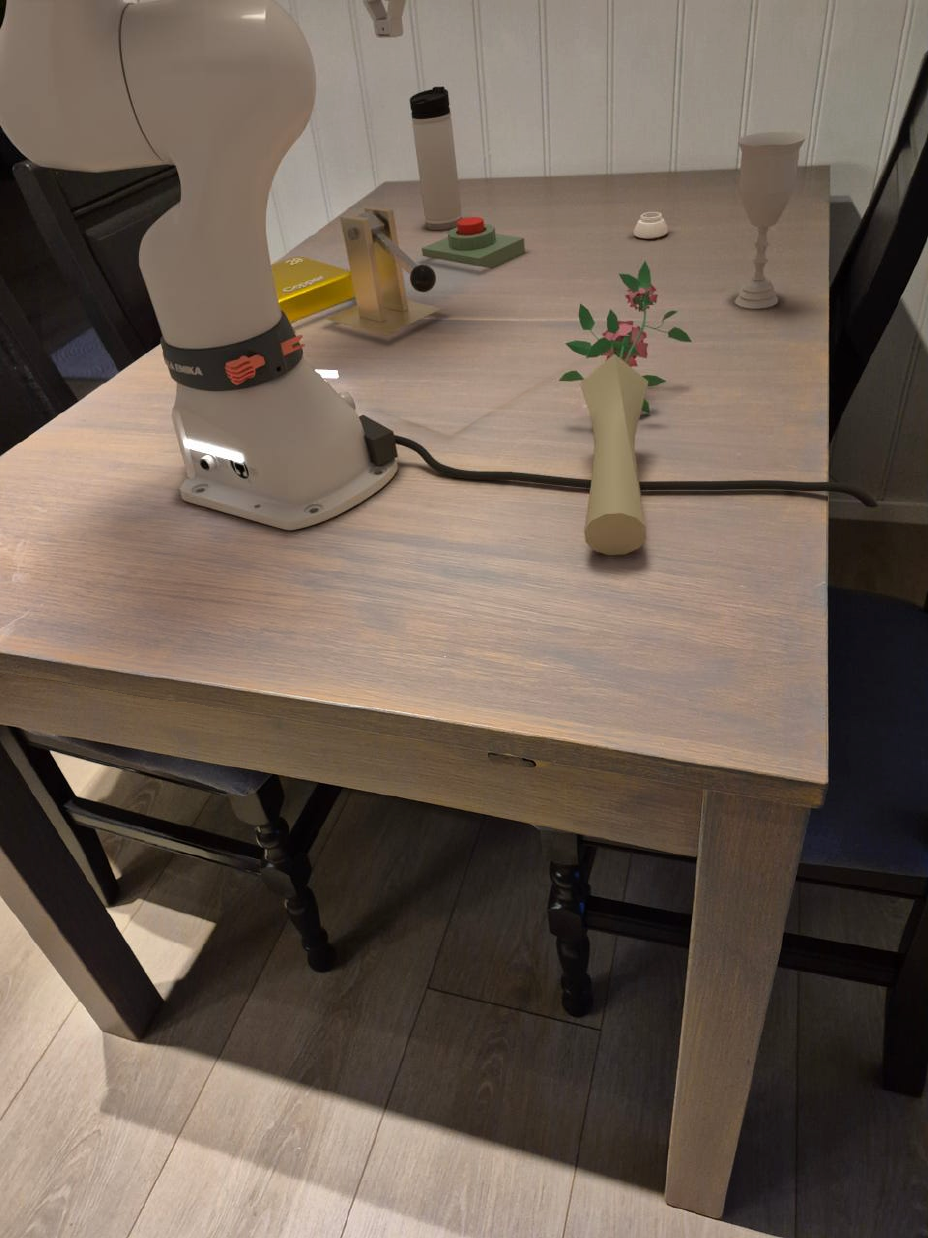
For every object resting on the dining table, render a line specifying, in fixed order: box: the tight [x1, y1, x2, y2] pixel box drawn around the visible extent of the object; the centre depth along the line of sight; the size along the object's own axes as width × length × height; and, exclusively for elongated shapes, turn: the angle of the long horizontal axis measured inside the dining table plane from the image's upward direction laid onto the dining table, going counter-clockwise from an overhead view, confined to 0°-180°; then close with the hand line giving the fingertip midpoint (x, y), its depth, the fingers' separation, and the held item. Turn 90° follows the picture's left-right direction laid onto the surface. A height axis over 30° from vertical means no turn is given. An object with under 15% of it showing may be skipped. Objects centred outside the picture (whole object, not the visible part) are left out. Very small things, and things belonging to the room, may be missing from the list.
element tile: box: [271, 255, 355, 324], centre depth 125 cm, size 15×15×5 cm
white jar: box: [633, 211, 669, 240], centre depth 133 cm, size 5×3×5 cm
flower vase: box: [558, 260, 693, 556], centre depth 82 cm, size 12×12×35 cm
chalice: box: [734, 131, 807, 310], centre depth 104 cm, size 7×7×18 cm
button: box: [457, 216, 485, 236], centre depth 132 cm, size 4×4×2 cm
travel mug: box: [409, 86, 463, 232], centre depth 145 cm, size 6×7×20 cm
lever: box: [356, 211, 437, 293], centre depth 110 cm, size 13×3×3 cm, turn 47°
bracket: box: [326, 205, 443, 337], centre depth 114 cm, size 12×10×14 cm
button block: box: [421, 223, 526, 269], centre depth 134 cm, size 12×10×4 cm
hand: (389, 36), depth 102 cm, fingers closed
